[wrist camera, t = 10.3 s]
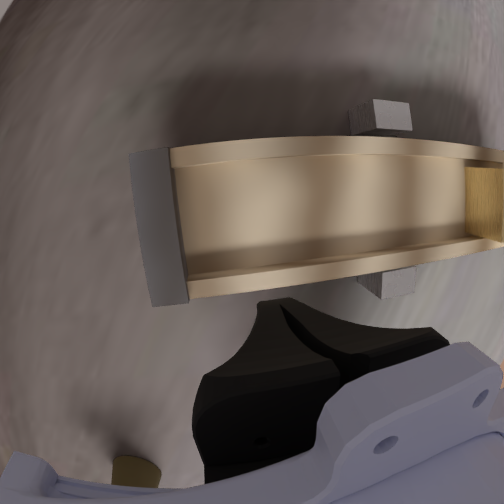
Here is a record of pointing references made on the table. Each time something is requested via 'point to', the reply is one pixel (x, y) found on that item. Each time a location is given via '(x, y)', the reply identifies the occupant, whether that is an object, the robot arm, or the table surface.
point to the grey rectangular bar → (384, 124)
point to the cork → (135, 472)
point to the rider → (484, 202)
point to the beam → (298, 210)
